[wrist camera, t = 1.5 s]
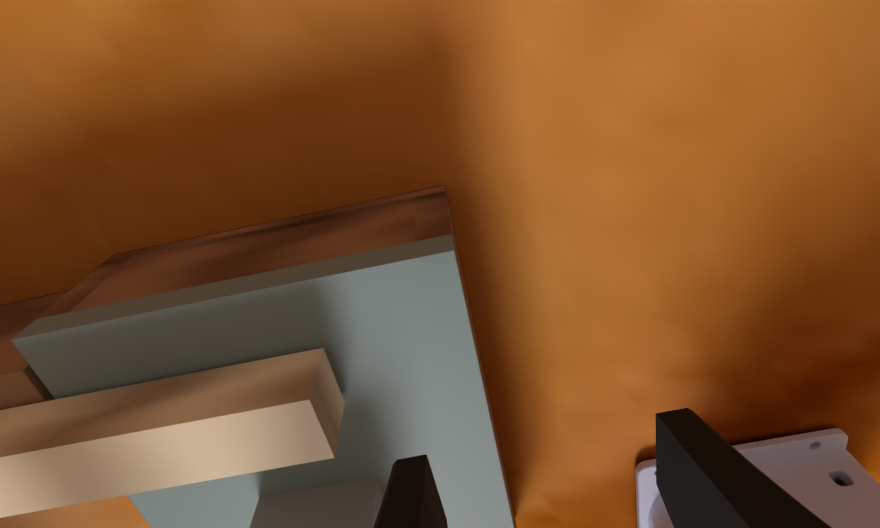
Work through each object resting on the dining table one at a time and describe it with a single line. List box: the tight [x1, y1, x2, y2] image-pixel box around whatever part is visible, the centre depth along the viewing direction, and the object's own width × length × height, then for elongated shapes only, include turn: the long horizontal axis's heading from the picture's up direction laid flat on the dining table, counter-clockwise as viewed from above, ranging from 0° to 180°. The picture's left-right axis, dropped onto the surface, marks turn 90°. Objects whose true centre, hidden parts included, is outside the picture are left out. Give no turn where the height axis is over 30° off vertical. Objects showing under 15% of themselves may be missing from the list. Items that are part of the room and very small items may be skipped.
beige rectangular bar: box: [0, 348, 345, 518], centre depth 14 cm, size 12×2×2 cm, turn 102°
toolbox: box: [0, 186, 517, 528], centre depth 20 cm, size 21×18×5 cm
